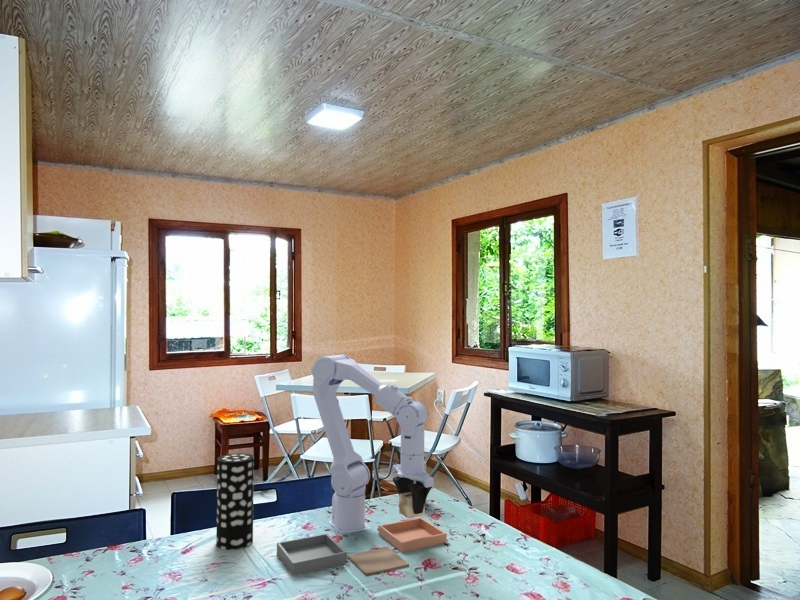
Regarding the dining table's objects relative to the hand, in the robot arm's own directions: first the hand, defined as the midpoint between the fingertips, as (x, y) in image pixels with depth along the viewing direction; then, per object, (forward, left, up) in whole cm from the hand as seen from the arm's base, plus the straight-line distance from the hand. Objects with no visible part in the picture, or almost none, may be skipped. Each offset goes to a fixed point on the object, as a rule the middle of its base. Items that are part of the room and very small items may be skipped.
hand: (411, 509), depth 137 cm
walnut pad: (+8, -13, -7) cm, 17 cm away
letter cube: (0, 0, -1) cm, 1 cm away
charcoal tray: (-1, -25, -7) cm, 26 cm away
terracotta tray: (0, 0, -7) cm, 7 cm away
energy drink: (-22, +14, -8) cm, 27 cm away
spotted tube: (-18, -38, -8) cm, 43 cm away
